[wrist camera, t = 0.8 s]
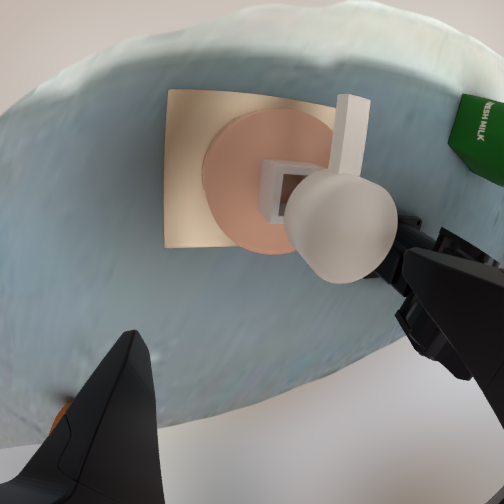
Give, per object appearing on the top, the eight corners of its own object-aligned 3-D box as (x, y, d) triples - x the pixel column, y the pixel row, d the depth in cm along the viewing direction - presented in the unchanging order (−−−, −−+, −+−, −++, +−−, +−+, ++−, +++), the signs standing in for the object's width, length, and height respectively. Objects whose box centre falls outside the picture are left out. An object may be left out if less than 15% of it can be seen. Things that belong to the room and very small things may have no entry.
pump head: (351, 107, 12) (419, 112, 8) (330, 234, 15) (382, 279, 11) (276, 92, 11) (329, 81, 7) (260, 235, 14) (297, 287, 10)
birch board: (356, 114, 19) (360, 114, 19) (334, 241, 24) (337, 244, 23) (168, 90, 15) (168, 89, 15) (165, 244, 20) (164, 248, 20)
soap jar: (331, 120, 18) (382, 126, 13) (314, 233, 22) (353, 269, 17) (206, 104, 16) (218, 97, 11) (199, 234, 20) (208, 277, 15)
